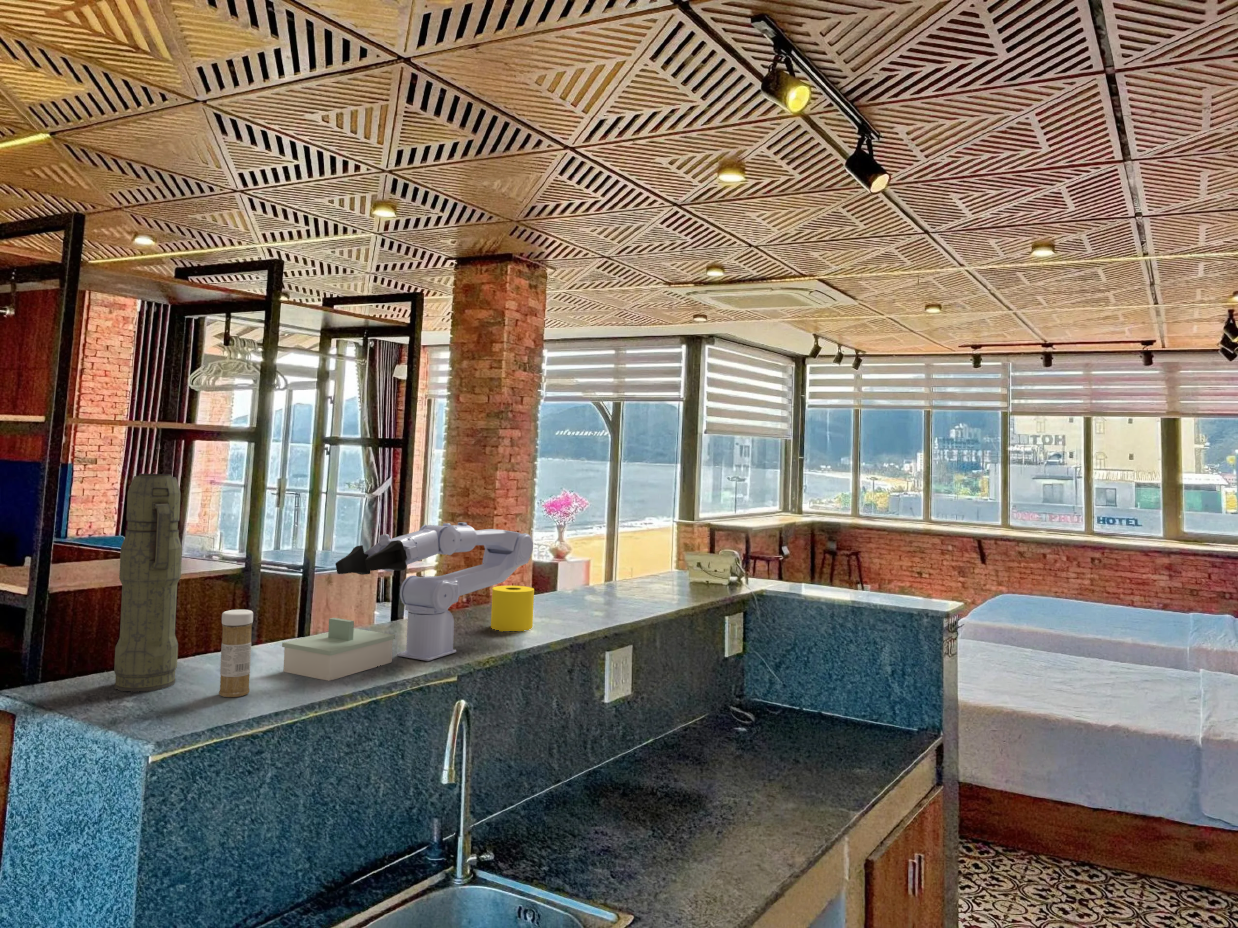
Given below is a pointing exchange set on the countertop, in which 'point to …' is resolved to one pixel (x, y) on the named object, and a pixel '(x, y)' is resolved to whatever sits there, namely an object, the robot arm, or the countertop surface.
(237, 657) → the sprinkles bottle
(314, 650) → the lid
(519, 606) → the yellow paper roll
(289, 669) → the tub
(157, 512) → the thermos
